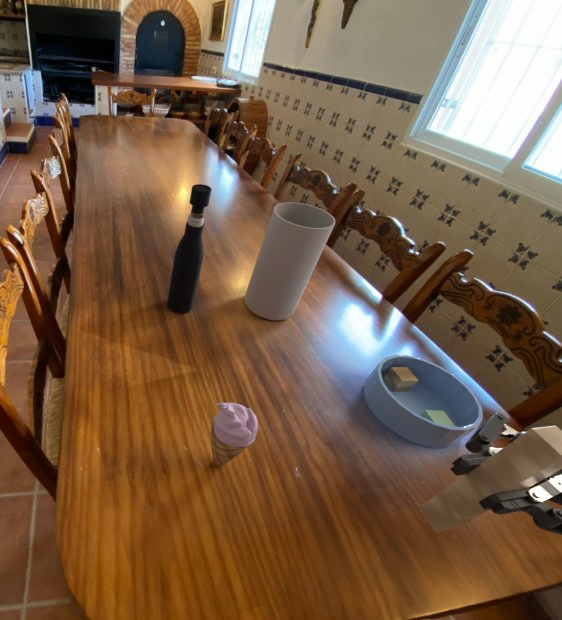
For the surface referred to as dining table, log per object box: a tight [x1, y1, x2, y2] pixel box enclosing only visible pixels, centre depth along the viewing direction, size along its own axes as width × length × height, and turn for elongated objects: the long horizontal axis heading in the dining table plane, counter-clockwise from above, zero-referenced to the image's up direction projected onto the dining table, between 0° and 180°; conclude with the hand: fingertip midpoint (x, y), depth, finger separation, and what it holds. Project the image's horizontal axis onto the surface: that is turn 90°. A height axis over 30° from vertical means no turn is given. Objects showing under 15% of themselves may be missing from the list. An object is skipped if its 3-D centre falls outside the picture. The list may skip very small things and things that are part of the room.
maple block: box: [383, 367, 419, 392], centre depth 72 cm, size 4×4×4 cm
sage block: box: [420, 410, 456, 427], centre depth 64 cm, size 4×4×4 cm
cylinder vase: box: [243, 201, 336, 321], centre depth 83 cm, size 12×12×25 cm
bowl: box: [362, 354, 484, 449], centre depth 68 cm, size 17×17×6 cm
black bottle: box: [166, 183, 212, 315], centre depth 79 cm, size 6×6×30 cm
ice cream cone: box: [210, 402, 259, 468], centre depth 54 cm, size 7×6×15 cm
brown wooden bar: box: [418, 425, 562, 533], centre depth 38 cm, size 3×3×18 cm
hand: (472, 484), depth 36 cm, fingers closed on brown wooden bar, 3 cm apart
